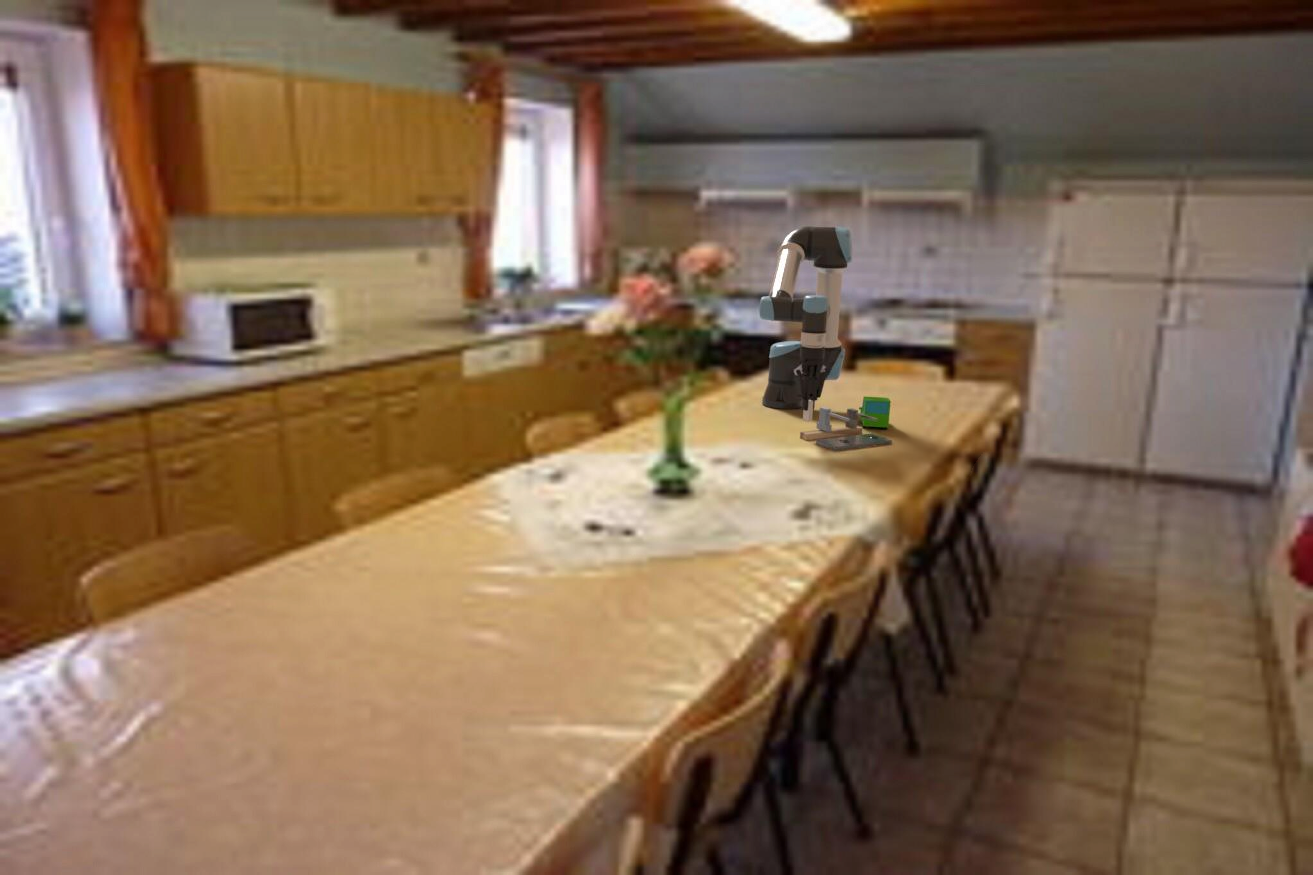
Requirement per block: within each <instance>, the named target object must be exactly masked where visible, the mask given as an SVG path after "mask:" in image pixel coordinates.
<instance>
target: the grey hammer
mask: <svg viewBox="0 0 1313 875" xmlns="http://www.w3.org/2000/svg"><path fill="white" fill-rule="evenodd" d="M831 410H832V409H831V408H828V407H824V406H822V407H819V416H818V418H819V419H818V421H817V422H816V430H823V431H826V432H829V431H831V428H833V425H832V424H831V417H833V418H836V419H839V420H842V421H844V422H846V421H850V419H849V418H847V416H846V417H845V416H843V415H839V414H837V413H833V412H831Z"/></svg>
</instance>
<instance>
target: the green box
mask: <svg viewBox="0 0 1313 875" xmlns="http://www.w3.org/2000/svg"><path fill="white" fill-rule="evenodd" d="M862 399H863V400H862V407H860V406H858V407H859V408H858V409H859V410H860V412H859V413H861V414H864V415H867V416H870V417H873V418H877V419H878V420H877V421H872V420H869V419H866V418H863V417H860V416H859V419H860V420H859V422H860V423H861V424H862V429H867V427H875V428H884V429H883V430H887V429H888V428H889V422H890V412H891V402H892V401H891V400H890V398H889V397H880V396H863V397H862Z"/></svg>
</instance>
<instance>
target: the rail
mask: <svg viewBox="0 0 1313 875" xmlns="http://www.w3.org/2000/svg"><path fill="white" fill-rule="evenodd" d="M858 417H859V418H860V417H863V418H866V419H869V420H872V421H877V420H878V419H877V418H873V417H870V416H867V415H864V414H861V413H860V412H859V410H858V409H856V408H852V407H851V408H847V409H846V418H849V419H850V421H845V426H840V427H832V428H831V431H829V432H826V431H823V430H820V429H814V430H804V431H800V432H799V433H800V434H799V438H800V439H801V440H804V441H811V440H821V439H829V438H838V437H846V436H854V435H860V434H859V433H861V434H863V426H859V425H858Z"/></svg>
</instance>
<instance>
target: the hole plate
mask: <svg viewBox="0 0 1313 875" xmlns="http://www.w3.org/2000/svg"><path fill="white" fill-rule="evenodd" d="M815 444H816V445H817V446H820V447H823V448H825V449H828V450H830V451H834V452H838V451H844V450H853V449H860V448H859V447H862V448H867V447H875V446H874V445H877V446H883V445H884V444H885V445H890V444H891V445H892V444H893V439H890V438H887V437H885V436H882V435H878V434H875V433H874V432H873V433H865V434H864V433H862V434H854V435H846V436H838V437H829V438H821V439H815Z"/></svg>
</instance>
